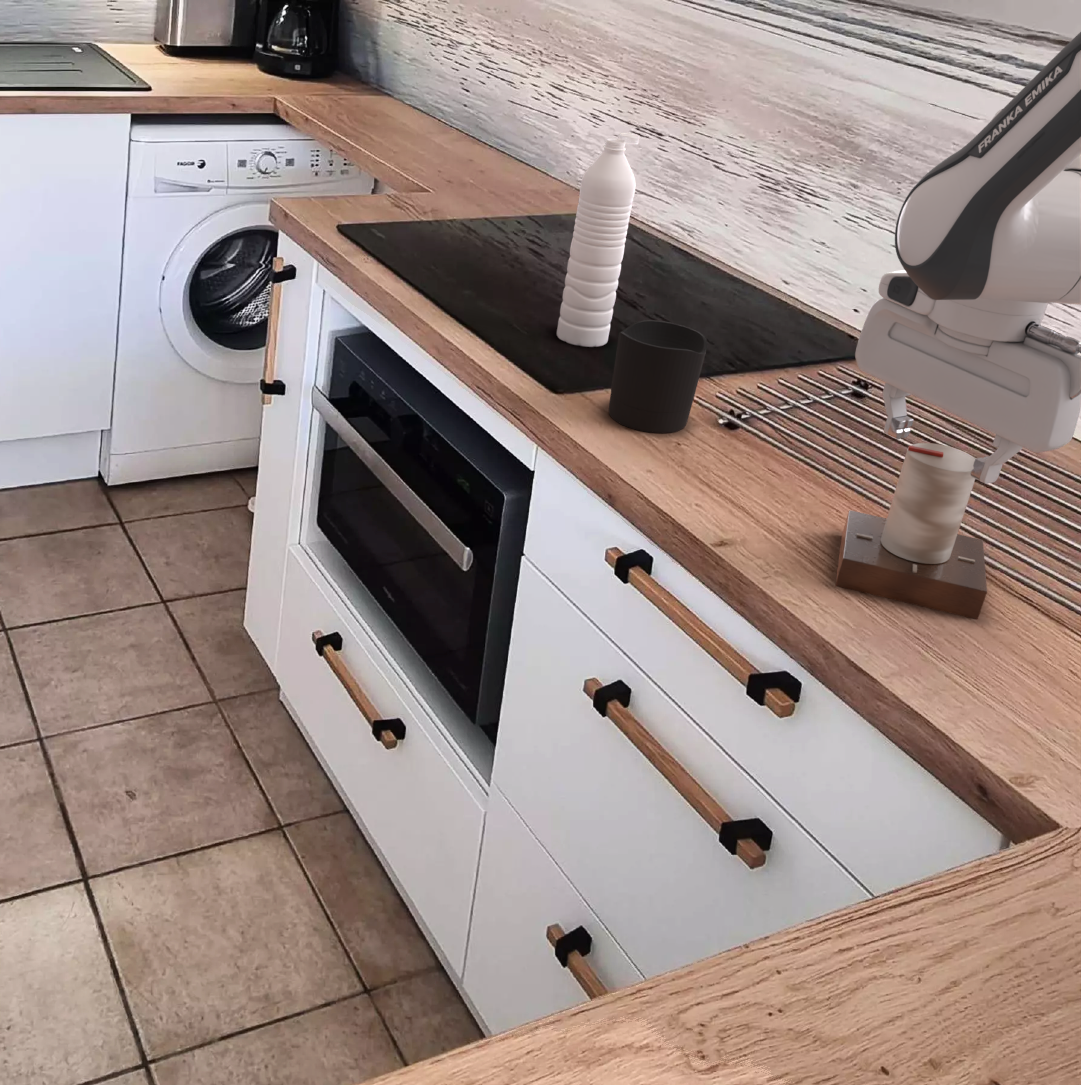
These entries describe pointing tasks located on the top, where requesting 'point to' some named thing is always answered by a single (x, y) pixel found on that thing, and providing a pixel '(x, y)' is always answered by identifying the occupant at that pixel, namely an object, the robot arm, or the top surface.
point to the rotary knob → (928, 503)
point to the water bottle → (598, 246)
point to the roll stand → (911, 570)
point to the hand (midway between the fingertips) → (937, 457)
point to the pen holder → (656, 375)
